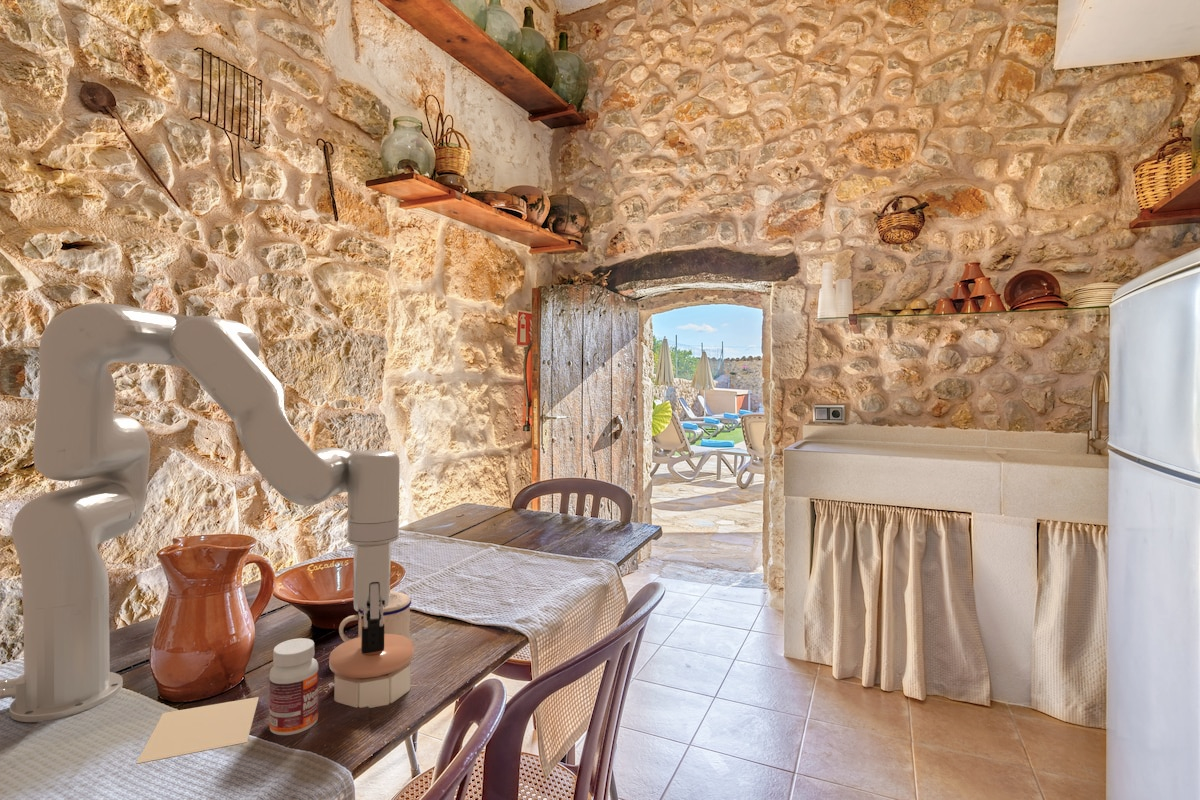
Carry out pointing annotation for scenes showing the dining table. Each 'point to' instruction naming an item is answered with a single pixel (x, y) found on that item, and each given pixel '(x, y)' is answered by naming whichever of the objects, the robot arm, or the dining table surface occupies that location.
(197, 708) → the mat
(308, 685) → the pill bottle
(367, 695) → the bowl
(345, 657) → the lid
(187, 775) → the dining table surface
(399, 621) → the teacup with lid
